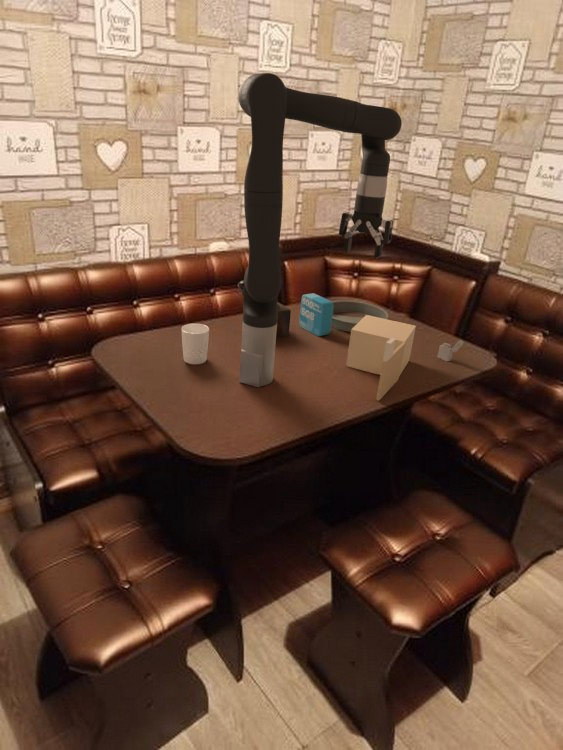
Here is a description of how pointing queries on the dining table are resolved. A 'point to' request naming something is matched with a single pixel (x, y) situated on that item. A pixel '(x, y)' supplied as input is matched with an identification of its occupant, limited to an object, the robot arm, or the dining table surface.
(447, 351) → the lighter
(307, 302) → the data package
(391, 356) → the beige wooden slab
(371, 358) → the carton
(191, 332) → the white cup
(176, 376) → the dining table surface
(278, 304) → the pepper mill
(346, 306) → the cake pan
